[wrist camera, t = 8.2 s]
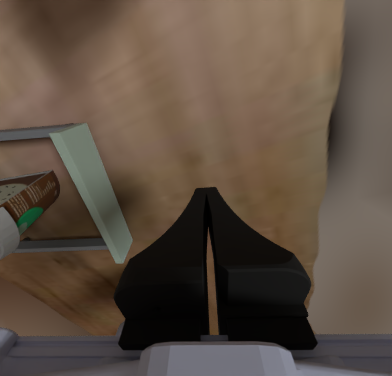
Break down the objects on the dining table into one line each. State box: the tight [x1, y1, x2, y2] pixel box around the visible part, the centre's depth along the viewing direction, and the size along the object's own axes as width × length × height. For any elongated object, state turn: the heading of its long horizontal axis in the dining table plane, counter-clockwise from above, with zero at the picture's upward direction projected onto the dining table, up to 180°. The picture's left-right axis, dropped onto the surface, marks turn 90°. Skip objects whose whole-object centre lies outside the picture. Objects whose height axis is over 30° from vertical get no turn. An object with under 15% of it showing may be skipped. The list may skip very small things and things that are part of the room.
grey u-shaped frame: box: [0, 123, 133, 263], centre depth 22 cm, size 18×19×5 cm
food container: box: [0, 170, 60, 260], centre depth 20 cm, size 12×6×10 cm, turn 100°
